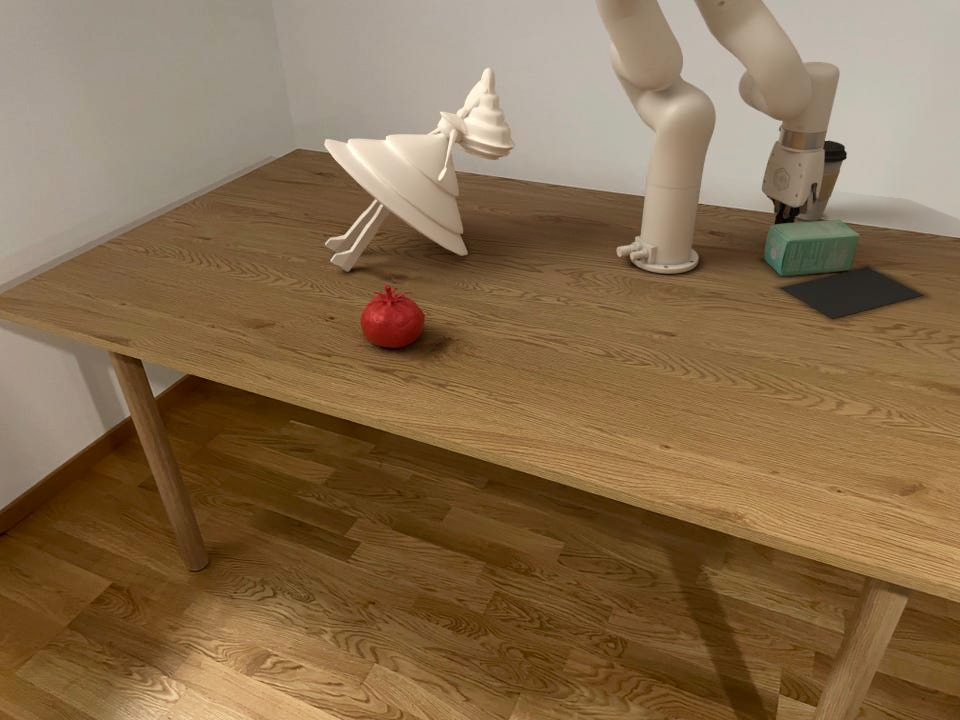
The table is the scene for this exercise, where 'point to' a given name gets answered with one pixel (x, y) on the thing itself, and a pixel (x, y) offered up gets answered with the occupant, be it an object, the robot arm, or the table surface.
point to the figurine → (420, 173)
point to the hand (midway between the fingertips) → (781, 234)
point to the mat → (851, 292)
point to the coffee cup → (827, 179)
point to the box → (810, 247)
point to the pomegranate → (392, 319)
